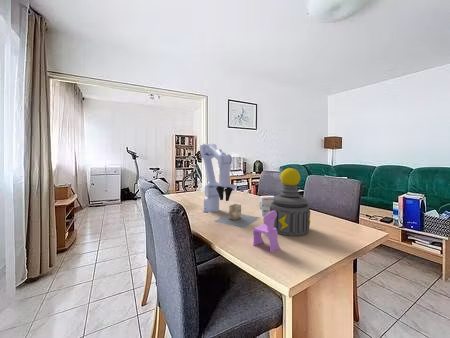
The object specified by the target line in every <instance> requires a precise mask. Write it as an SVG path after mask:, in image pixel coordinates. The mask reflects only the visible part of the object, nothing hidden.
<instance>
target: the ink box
mask: <svg viewBox="0 0 450 338" xmlns="http://www.w3.org/2000/svg"><path fill="white" fill-rule="evenodd" d="M274 196H275V195H261V196H259V215H260V216H262V217H264V216H265V215H266V214H267V213H269V212H270V206H271V203H272V202H274V201H273V197H274Z"/></svg>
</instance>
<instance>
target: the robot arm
mask: <svg viewBox="0 0 450 338" xmlns="http://www.w3.org/2000/svg"><path fill="white" fill-rule="evenodd" d="M199 152H200V157H201V158H202V160H203V164H204V169H205V174H206V178H207V183H206V184H205V186H204V195H205V198H204V200H203V210H202V211H203V212H205V213H211V212H216V213H217V212H220V201H224V194H225V202H229V201H230V197H231V195H232V192H233V191H234V190H235V189H238V188H237V186H238V184H232V183H231V181H230V180H231V174H230V173H231V168H230V167H231V164H232V162H233V158H232V155H231V154H230V153H229V154H226V153H225V152H224V151H223V150H222V148H220V149H218V147H217V145H216V144H215V143H200V146H199ZM213 158H215V159H216V161H217V164H218V169H219V175H218V176H219V182H217V181H216V176H215V172H214V167H213V165H214V164H213V162H212V161H213V160H212V159H213ZM224 192H225V193H224Z"/></svg>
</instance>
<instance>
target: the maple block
mask: <svg viewBox="0 0 450 338" xmlns="http://www.w3.org/2000/svg"><path fill="white" fill-rule="evenodd" d="M228 214H229V220H233V221H236V220H238V219H240V218H241V214H242V204H238V203H234V204H231V205H229V206H228Z"/></svg>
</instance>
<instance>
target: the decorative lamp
mask: <svg viewBox="0 0 450 338" xmlns="http://www.w3.org/2000/svg"><path fill="white" fill-rule="evenodd" d="M279 178H280V181H281V183H282V188H281V192H280V194H276V195H273V196H274V197H273V201H274V202H272V203H271V206H270V212H271V211H276V213H277V217H276V218H275V221H274V228H277V235H278V234H279V235H282V236H287V237H301V236H305V235H306V234H307V233H308V232H309V231H310V226H311V210H310V208H309V207H310V205H308V200H307V198H306V197H304V196H302V195H300V193H299V189H298V185H299V183H300V180H301V175H300V173H299V171H298V170H297V169H296V168H291V167H288V168H285V169H284V170H282V172H281V174H280V177H279Z"/></svg>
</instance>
